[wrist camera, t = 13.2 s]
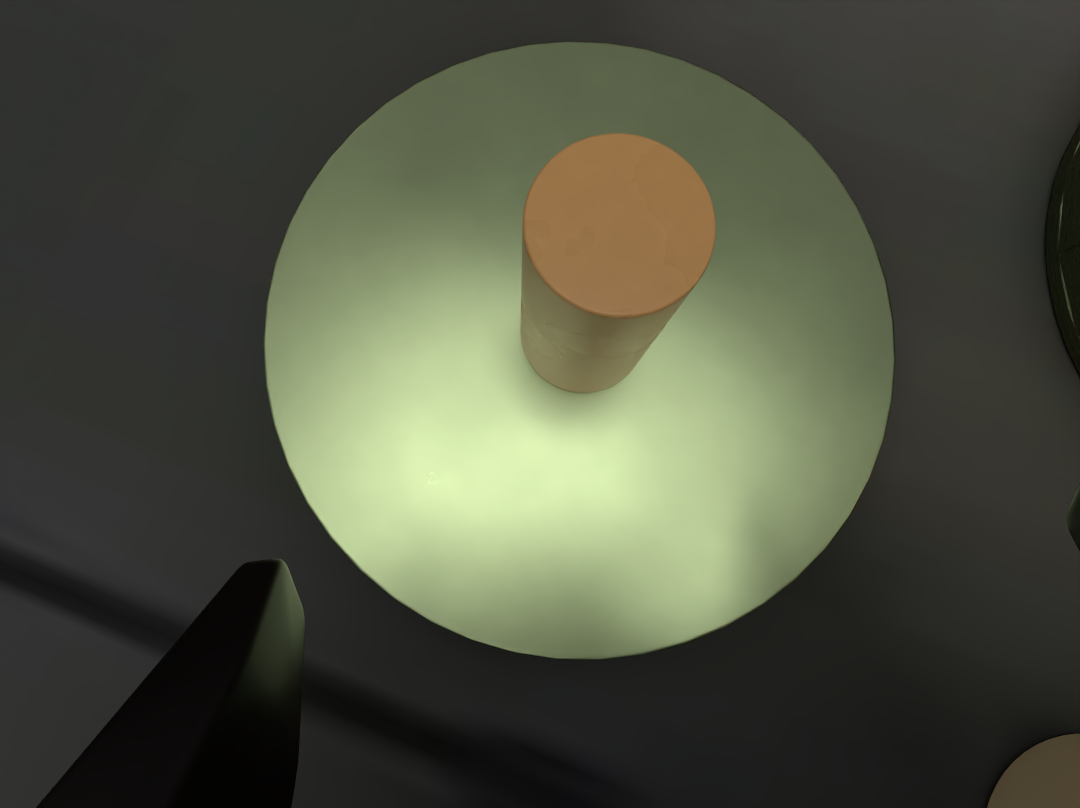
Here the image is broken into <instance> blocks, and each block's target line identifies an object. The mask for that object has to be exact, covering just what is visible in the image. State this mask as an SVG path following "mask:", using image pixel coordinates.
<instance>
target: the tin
mask: <svg viewBox="0 0 1080 808" xmlns="http://www.w3.org/2000/svg"><path fill="white" fill-rule="evenodd" d="M1046 259H1047V272H1048V283H1049V288H1050V292H1051V297H1052V302H1053V306H1054V311H1055V316H1056V319H1057V321H1058V324H1059V327H1060V330H1061V333H1062V336H1063V339H1064V342H1065V344H1066V347H1067V350H1068V352H1069V354H1070V356H1071V358H1072V360H1073V362H1074V364H1075V366H1076V368H1077V370H1078V372H1079V374H1080V126H1079V128H1078V130H1077V132H1076V134H1075V136H1074V137H1073V139H1072V141H1071V143H1070V145H1069V147H1068V149H1067V151H1066V153H1065V154H1064V157H1063V160H1062V163H1061V165H1060V168H1059V171H1058V174H1057V177H1056V180H1055V182H1054V185H1053V191H1052V196H1051V201H1050V206H1049V211H1048V216H1047V233H1046Z"/></svg>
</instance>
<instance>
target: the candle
mask: <svg viewBox="0 0 1080 808" xmlns="http://www.w3.org/2000/svg"><path fill="white" fill-rule="evenodd" d="M987 808H1080V734H1069V735H1062V736H1059V737H1055V738H1052V739H1048V740H1046V741H1044V742H1042V743H1039V744H1037V745H1035V746H1034V747H1032V748H1030V749H1029V750H1027V751H1026V752H1024V753H1023V754H1022V755H1021V756H1019V757H1018V758H1017V759H1016V760H1015V761H1014V762H1013V763H1012V764H1011V765H1010V766H1009V767H1008V769H1007V770H1006V771H1005V772H1004V773H1003V775H1002V777H1001V778H1000V780H999V781H998V783H997V784H996V786H995V788H994V791H993V793H992V795H991V797H990V800H989V803H988V806H987Z"/></svg>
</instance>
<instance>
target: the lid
mask: <svg viewBox="0 0 1080 808" xmlns="http://www.w3.org/2000/svg"><path fill="white" fill-rule="evenodd" d="M263 352H264V369H265V385H266V390H267V395H268V400H269V405H270V410H271V415H272V420H273V425H274V429H275V431H276V434H277V437H278V440H279V443H280V446H281V449H282V452H283V455H284V458H285V460H286V463H287V466H288V468H289V470H290V472H291V474H292V476H293V478H294V480H295V482H296V484H297V486H298V488H299V490H300V492H301V494H302V496H303V498H304V500H305V502H306V504H307V505H308V506H309V508H310V509H311V511H312V512H313V514H314V515H315V517H316V518H317V520H318V521H319V522H320V524H321V525H322V527H323V528H324V530H325V531H326V533H327V534H328V535H329V537H330V538H331V540H332V541H333V542H334V543H335V544H336V545H337V546H338V547H339V548H340V549H341V550H342V552H343V553H344V554H345V555H346V556H347V557H348V558H349V559H350V560H351V561H352V563H353V564H354V565H355V566H356V567H357V568H358V569H359V570H360V571H361V572H362V573H363V574H365V575H366V576H367V577H368V578H369V579H371V580H372V581H373V582H374V583H375V584H377V585H378V586H379V587H380V588H381V589H383V590H384V591H385V592H386V593H387V594H389V595H390V596H391V597H392V598H393V599H395V600H396V601H398V602H400V603H401V604H403V605H404V606H406V607H408V608H409V609H411V610H412V611H414V612H416V613H417V614H419V615H420V616H422V617H424V618H425V619H427V620H428V621H430V622H432V623H434V624H436V625H439V626H441V627H443V628H445V629H448V630H450V631H452V632H454V633H456V634H459V635H461V636H463V637H465V638H468V639H470V640H473V641H476V642H479V643H483V644H486V645H490V646H493V647H496V648H500V649H503V650H506V651H510V652H513V653H520V654H526V655H533V656H539V657H546V658H552V659H580V660H603V659H611V658H620V657H628V656H636V655H644V654H648V653H652V652H656V651H659V650H663V649H667V648H671V647H675V646H679V645H682V644H686V643H688V642H691V641H693V640H696V639H698V638H701V637H703V636H705V635H708V634H710V633H713V632H715V631H717V630H720V629H722V628H725V627H727V626H728V625H730V624H732V623H733V622H735V621H737V620H739V619H740V618H742V617H744V616H745V615H747V614H749V613H751V612H752V611H754V610H756V609H757V608H759V607H761V606H762V605H764V604H765V603H766V602H768V601H769V600H770V599H771V598H773V597H774V596H775V595H776V594H778V593H779V592H780V591H782V590H783V589H784V588H785V587H787V586H788V585H789V584H790V583H792V582H793V581H794V580H795V579H797V577H798V576H799V575H800V574H801V573H802V572H803V571H804V570H805V569H806V568H807V567H808V566H809V565H810V564H811V563H812V562H813V561H814V560H815V559H816V558H817V557H818V556H819V555H820V554H821V552H822V551H823V550H824V549H825V548H826V547H827V545H828V544H829V543H830V541H831V540H832V538H833V537H834V536H835V534H836V533H837V532H838V530H839V529H840V527H841V526H842V525H843V523H844V522H845V521H846V519H847V518H848V516H849V515H850V513H851V511H852V509H853V508H854V506H855V504H856V502H857V500H858V498H859V496H860V494H861V493H862V491H863V489H864V487H865V485H866V483H867V481H868V479H869V477H870V474H871V472H872V469H873V466H874V463H875V461H876V458H877V455H878V453H879V450H880V447H881V444H882V442H883V438H884V434H885V429H886V425H887V420H888V416H889V411H890V407H891V402H892V393H893V381H894V370H895V344H894V324H893V316H892V310H891V305H890V299H889V294H888V288H887V283H886V279H885V276H884V273H883V270H882V266H881V263H880V260H879V257H878V254H877V251H876V248H875V245H874V242H873V240H872V238H871V236H870V233H869V231H868V229H867V227H866V225H865V223H864V221H863V219H862V216H861V214H860V212H859V210H858V208H857V206H856V205H855V203H854V201H853V200H852V198H851V197H850V195H849V194H848V192H847V190H846V189H845V187H844V186H843V184H842V182H841V181H840V179H839V178H838V176H837V175H836V173H835V172H834V171H833V170H832V168H831V167H830V166H829V165H828V164H827V162H826V161H825V160H824V159H823V157H822V156H821V155H820V154H819V153H818V151H817V150H816V149H815V148H814V147H813V145H812V144H811V143H810V142H809V141H808V140H807V139H806V138H805V137H804V136H802V135H801V134H800V133H799V132H798V131H797V130H796V129H795V128H794V127H793V126H792V125H791V124H790V123H789V122H788V121H787V120H786V119H785V118H784V117H782V116H781V115H780V114H778V113H777V112H776V111H774V110H773V109H771V108H770V107H769V106H767V105H766V104H765V103H763V102H762V101H761V100H759V99H758V98H757V97H755V96H754V95H753V94H751V93H749V92H748V91H746V90H744V89H742V88H741V87H739V86H737V85H735V84H734V83H732V82H730V81H728V80H726V79H725V78H723V77H721V76H719V75H718V74H715V73H713V72H710V71H708V70H706V69H703V68H701V67H699V66H696V65H694V64H691V63H689V62H687V61H684V60H682V59H678V58H675V57H671V56H668V55H664V54H661V53H657V52H654V51H650V50H647V49H642V48H636V47H629V46H623V45H617V44H610V43H598V42H571V41H565V42H553V43H541V44H530V45H524V46H519V47H514V48H510V49H505V50H500V51H495V52H490V53H487V54H484V55H482V56H479V57H476V58H473V59H470V60H467V61H464V62H461V63H458V64H455V65H452V66H450V67H448V68H446V69H444V70H442V71H440V72H438V73H436V74H434V75H432V76H430V77H428V78H426V79H424V80H422V81H420V82H418V83H416V84H415V85H413V86H412V87H410V88H408V89H407V90H405V91H404V92H402V93H401V94H399V95H398V96H396V97H395V98H393V99H392V100H390V101H388V102H387V103H385V104H384V105H383V106H382V107H381V108H380V109H378V110H377V111H376V112H375V113H374V114H372V115H371V116H370V117H369V118H368V119H367V120H365V121H364V122H363V123H362V124H361V125H360V126H358V127H357V128H356V129H355V130H354V131H353V132H352V133H351V134H350V136H349V137H348V138H347V139H346V140H345V141H344V142H343V143H342V144H341V145H340V147H339V148H338V149H337V150H336V151H335V152H334V153H333V154H332V155H331V156H330V158H329V159H328V160H327V162H326V163H325V165H324V166H323V167H322V169H321V170H320V172H319V173H318V175H317V176H316V177H315V179H314V180H313V182H312V183H311V185H310V186H309V188H308V189H307V190H306V192H305V194H304V196H303V198H302V200H301V202H300V204H299V206H298V208H297V210H296V212H295V214H294V216H293V218H292V219H291V221H290V223H289V225H288V228H287V231H286V233H285V236H284V239H283V242H282V244H281V247H280V250H279V253H278V256H277V258H276V261H275V264H274V269H273V273H272V278H271V283H270V287H269V292H268V297H267V302H266V311H265V325H264V338H263Z"/></svg>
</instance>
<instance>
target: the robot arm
mask: <svg viewBox="0 0 1080 808" xmlns="http://www.w3.org/2000/svg"><path fill="white" fill-rule="evenodd" d="M1067 525H1068V528H1069V531H1070V534H1071V536H1072V538H1073V539H1074V541H1075V543H1076V545H1077V547H1078V549H1079V551H1080V484H1079V487H1078V489H1077V491H1076V493H1075V496H1074V498H1073V500H1072V502H1071V504H1070V507H1069V509H1068V512H1067ZM304 639H305V618H304V612H303V607H302V604H301V602H300V599H299V596H298V594H297V591H296V588H295V586H294V583H293V580H292V577H291V575H290V572H289V569H288V567H287V565H286V564H285V562H284V561H283V560H281V559H269V560H260V561H252V562H247V563H245V564H243V565H242V566H240V567H239V568H238V569H237V570H236V572H235V573H234V574H233V575H232V576H231V578H230V579H229V580H228V581H227V582H226V584H225V585H224V586H223V587H222V588H221V589H220V591H219V592H218V593H217V594H216V595H215V597H214V598H213V599H212V600H211V601H210V602H209V604H208V605H207V606H206V607H205V608H204V610H203V611H202V612H201V613H200V614H199V615H198V617H197V618H196V619H195V620H194V621H193V623H192V624H191V625H190V626H189V627H188V628H187V630H186V631H185V632H184V633H183V634H182V636H181V637H180V638H179V639H178V640H177V641H176V643H175V644H174V645H173V646H172V647H171V649H170V650H169V651H168V652H167V653H166V655H165V656H164V657H163V658H162V659H161V660H160V662H159V663H158V664H157V665H156V666H155V668H154V669H153V670H152V671H151V672H150V673H149V675H148V676H147V677H146V678H145V679H144V681H143V682H142V683H141V684H140V685H139V686H138V688H137V689H136V690H135V691H134V692H133V694H132V695H131V696H130V697H129V698H128V699H127V701H126V702H125V703H124V704H123V705H122V707H121V708H120V709H119V710H118V711H117V713H116V714H115V715H114V716H113V717H112V718H111V720H110V721H109V722H108V723H107V724H106V726H105V727H104V728H103V729H102V730H101V731H100V733H99V734H98V735H97V736H96V737H95V739H94V740H93V741H92V742H91V743H90V744H89V746H88V747H87V748H86V749H85V750H84V752H83V753H82V754H81V755H80V756H79V757H78V759H77V760H76V761H75V762H74V763H73V765H72V766H71V767H70V768H69V769H68V770H67V772H66V773H65V774H64V775H63V776H62V778H61V779H60V780H59V781H58V782H57V784H56V785H55V786H54V787H53V788H52V789H51V791H50V792H49V793H48V794H47V795H46V797H45V798H44V799H43V800H42V801H41V802H40V804H39V805H38V806H37V807H36V808H291V805H292V799H293V793H294V787H295V780H296V773H297V766H298V754H299V740H300V719H301V699H302V679H303V659H304Z"/></svg>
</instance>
